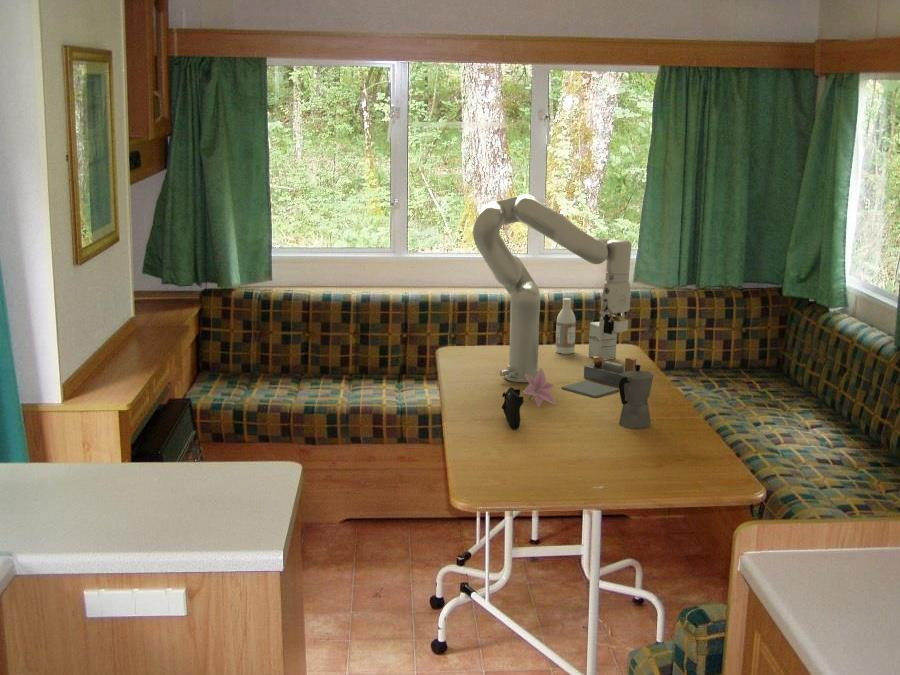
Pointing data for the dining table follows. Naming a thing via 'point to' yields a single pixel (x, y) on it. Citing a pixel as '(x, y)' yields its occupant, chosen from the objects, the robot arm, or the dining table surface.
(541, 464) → the dining table surface
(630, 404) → the coffeepot
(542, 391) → the lily
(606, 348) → the supplement box
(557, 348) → the bath foam
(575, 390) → the mat
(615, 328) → the lever cap
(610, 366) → the plane body
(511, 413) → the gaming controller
